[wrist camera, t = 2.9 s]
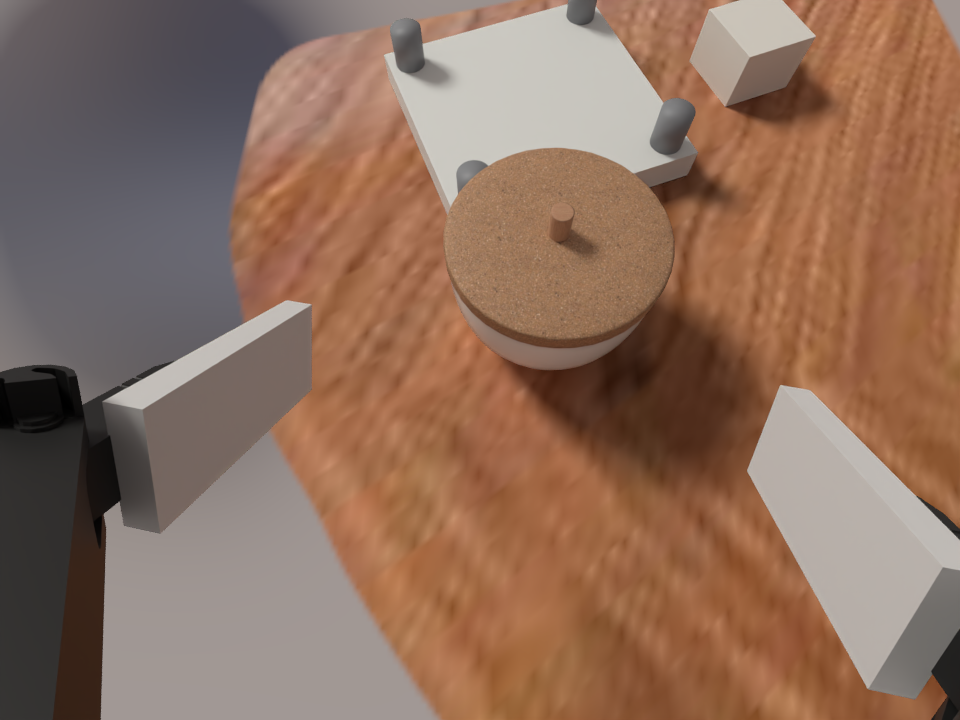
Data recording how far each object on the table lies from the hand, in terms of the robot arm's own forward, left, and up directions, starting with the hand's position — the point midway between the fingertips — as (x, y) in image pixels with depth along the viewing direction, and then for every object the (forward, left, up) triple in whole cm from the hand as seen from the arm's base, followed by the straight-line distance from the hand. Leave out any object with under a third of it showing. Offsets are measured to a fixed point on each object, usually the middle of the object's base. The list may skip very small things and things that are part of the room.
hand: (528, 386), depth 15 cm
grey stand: (+22, -10, -14) cm, 28 cm away
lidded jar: (+8, -5, -14) cm, 17 cm away
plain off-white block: (+21, -26, -14) cm, 37 cm away
